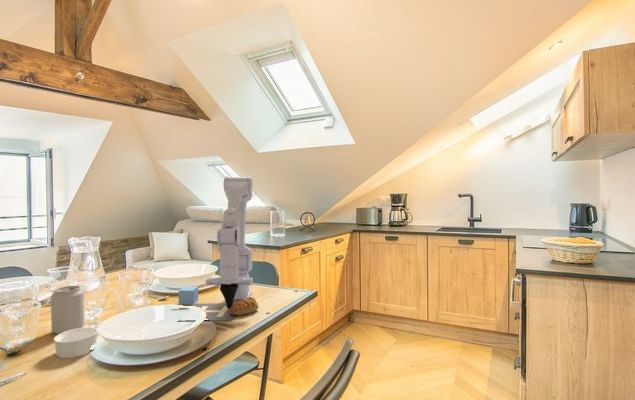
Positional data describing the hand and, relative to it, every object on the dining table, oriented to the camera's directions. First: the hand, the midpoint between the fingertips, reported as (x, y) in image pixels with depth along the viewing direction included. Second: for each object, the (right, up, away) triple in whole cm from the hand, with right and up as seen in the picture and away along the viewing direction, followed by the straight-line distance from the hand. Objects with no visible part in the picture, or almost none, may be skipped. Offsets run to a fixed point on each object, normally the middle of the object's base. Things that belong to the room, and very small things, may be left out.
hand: (229, 307), depth 113 cm
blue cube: (-17, -1, +10) cm, 19 cm away
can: (-42, -2, -14) cm, 44 cm away
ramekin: (-30, -3, -27) cm, 41 cm away
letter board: (-6, -1, 0) cm, 6 cm away
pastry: (+5, -1, 0) cm, 5 cm away
